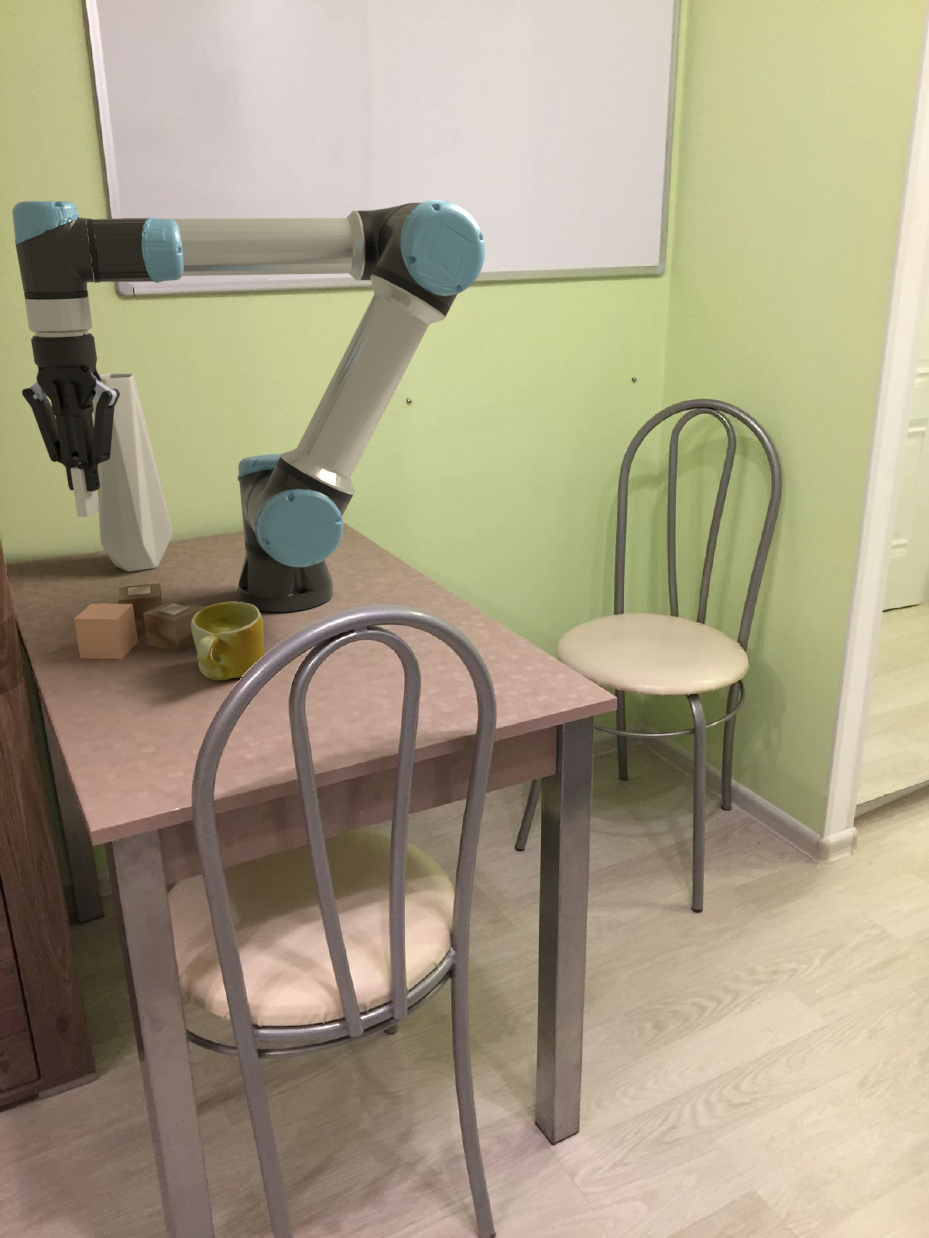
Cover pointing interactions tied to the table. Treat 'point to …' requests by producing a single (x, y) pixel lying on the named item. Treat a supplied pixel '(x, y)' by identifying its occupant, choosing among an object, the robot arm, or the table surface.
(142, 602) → the walnut block
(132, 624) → the plain block
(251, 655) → the mug
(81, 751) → the table surface
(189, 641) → the walnut block
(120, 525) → the vase
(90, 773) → the table surface
